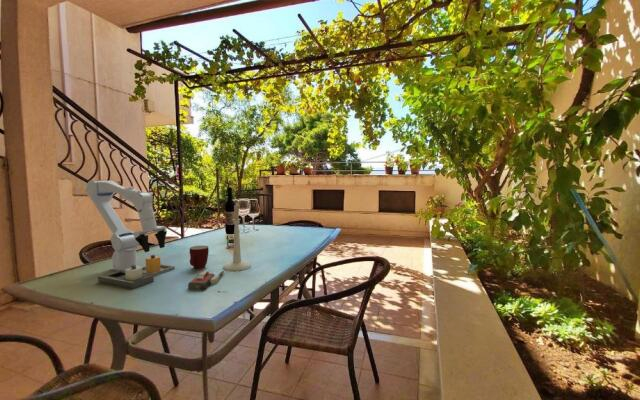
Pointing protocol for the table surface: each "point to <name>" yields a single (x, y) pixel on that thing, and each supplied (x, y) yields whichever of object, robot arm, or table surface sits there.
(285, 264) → the table surface
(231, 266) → the candlestick
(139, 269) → the twin plug
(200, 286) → the walkie-talkie
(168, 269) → the tray
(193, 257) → the mug
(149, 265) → the plug
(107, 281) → the open box
